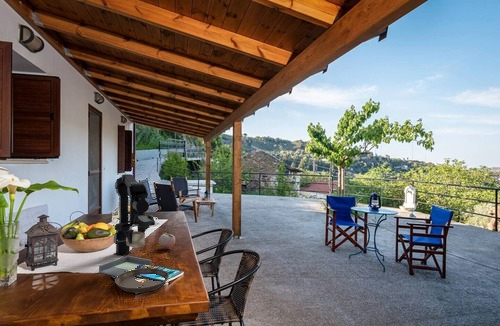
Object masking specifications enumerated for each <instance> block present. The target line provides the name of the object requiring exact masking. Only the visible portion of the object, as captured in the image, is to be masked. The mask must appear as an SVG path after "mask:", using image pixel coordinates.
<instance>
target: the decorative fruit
mask: <svg viewBox="0 0 500 326" xmlns="http://www.w3.org/2000/svg"><path fill="white" fill-rule="evenodd" d="M158 243H159V245H160V246H161V247H162V248H164V249H166V250H169V249H170V248H172V247H173V246H174V245H175V243H176V236H175V235H173V234H172V233H168V231H166V232H162V233H161V234H160V237H159V238H158Z"/></svg>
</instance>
